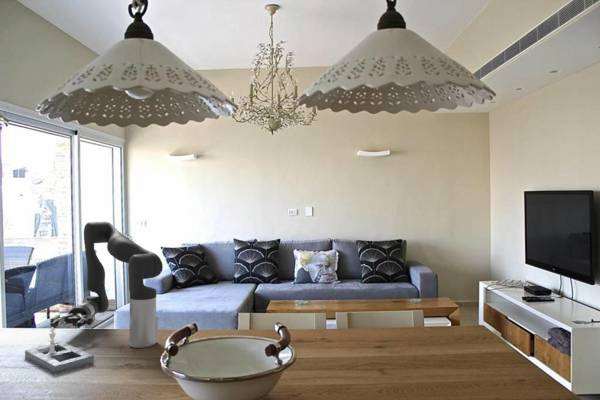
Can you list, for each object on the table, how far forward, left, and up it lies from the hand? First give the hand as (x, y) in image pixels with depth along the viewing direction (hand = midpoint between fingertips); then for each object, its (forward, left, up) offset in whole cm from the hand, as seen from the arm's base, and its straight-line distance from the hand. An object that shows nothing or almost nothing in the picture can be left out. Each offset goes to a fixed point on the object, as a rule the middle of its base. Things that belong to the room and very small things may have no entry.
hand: (65, 325), depth 159 cm
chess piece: (+8, +8, -8) cm, 13 cm away
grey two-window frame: (+8, +13, -7) cm, 17 cm away
